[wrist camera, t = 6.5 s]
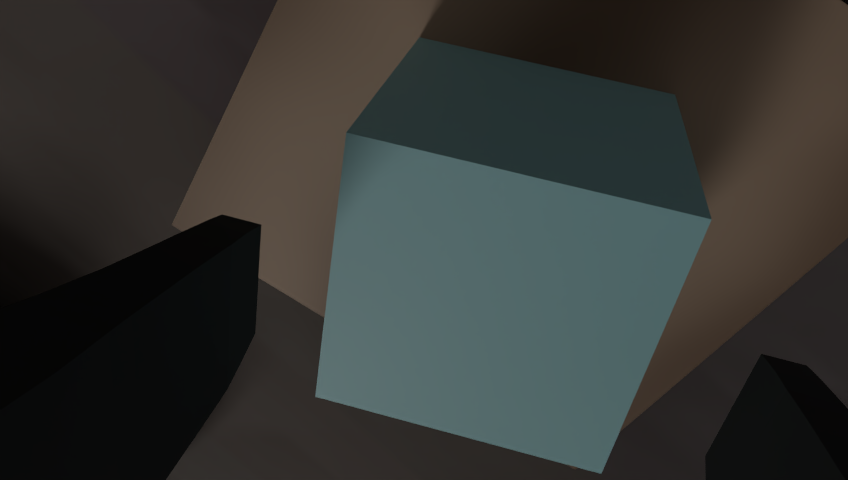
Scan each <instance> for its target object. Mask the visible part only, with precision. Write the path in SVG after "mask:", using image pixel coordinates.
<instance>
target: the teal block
mask: <svg viewBox="0 0 848 480" xmlns="http://www.w3.org/2000/svg"><path fill="white" fill-rule="evenodd" d="M711 220H712V219H711V215H710V212H709V208H708V205H707V202H706V198H705V195H704V191H703V188H702V184H701V181H700V178H699V174H698V171H697V167H696V164H695V161H694V157H693V154H692V150H691V147H690V144H689V140H688V137H687V133H686V130H685V126H684V123H683V120H682V116H681V113H680V109H679V106H678V103H677V99H676V96H675V95H674V94H670V93H665V92H661V91H657V90H652V89H648V88H643V87H639V86H634V85H630V84H625V83H621V82H616V81H612V80H608V79H603V78H599V77H594V76H590V75H585V74H581V73H576V72H572V71H568V70H563V69H559V68H554V67H550V66H545V65H541V64H536V63H532V62H527V61H523V60H519V59H514V58H510V57H505V56H501V55H496V54H492V53H487V52H483V51H478V50H474V49H470V48H465V47H461V46H456V45H452V44H447V43H443V42H438V41H434V40H429V39H425V38H421V37H419V38H418V40H417V41H416V42H415V44H414V45H413V46H412V48H411V49H410V50H409V51H408V53H407V54H406V55H405V57H404V58H403V59H402V61H401V62H400V63H399V64H398V66H397V67H396V68H395V70H394V71H393V72H392V74H391V75H390V76H389V77H388V79H387V80H386V81H385V83H384V84H383V85H382V87H381V88H380V89H379V90H378V92H377V93H376V94H375V96H374V97H373V98H372V100H371V101H370V102H369V103H368V105H367V106H366V107H365V109H364V110H363V111H362V113H361V114H360V115H359V116H358V118H357V119H356V120H355V122H354V123H353V124H352V126H351V127H350V128H349V129H348V131H347V132H346V138H345V147H344V155H343V164H342V173H341V181H340V190H339V198H338V207H337V215H336V224H335V233H334V241H333V250H332V258H331V267H330V276H329V284H328V293H327V301H326V310H325V318H324V327H323V336H322V344H321V353H320V361H319V370H318V379H317V387H316V396H315V397H319V398H322V399H326V400H330V401H334V402H337V403H341V404H345V405H348V406H352V407H356V408H360V409H363V410H367V411H371V412H374V413H378V414H382V415H385V416H389V417H393V418H397V419H400V420H404V421H408V422H411V423H415V424H419V425H423V426H426V427H430V428H434V429H437V430H441V431H445V432H448V433H452V434H456V435H460V436H463V437H467V438H471V439H474V440H478V441H482V442H486V443H489V444H493V445H497V446H500V447H504V448H508V449H511V450H515V451H519V452H523V453H526V454H530V455H534V456H537V457H541V458H545V459H549V460H552V461H556V462H560V463H563V464H567V465H571V466H574V467H578V468H582V469H586V470H589V471H593V472H597V473H600V474H601V473H602V471H603V468H604V466H605V464H606V462H607V459H608V457H609V455H610V452H611V450H612V448H613V445H614V443H615V441H616V439H617V436H618V434H619V432H620V429H621V427H622V425H623V422H624V420H625V418H626V416H627V413H628V411H629V409H630V406H631V404H632V402H633V399H634V397H635V395H636V393H637V390H638V388H639V386H640V383H641V381H642V379H643V376H644V374H645V372H646V370H647V367H648V365H649V363H650V360H651V358H652V356H653V353H654V351H655V349H656V346H657V344H658V342H659V340H660V337H661V335H662V333H663V330H664V328H665V326H666V323H667V321H668V319H669V317H670V314H671V312H672V310H673V307H674V305H675V303H676V300H677V298H678V296H679V294H680V291H681V289H682V287H683V284H684V282H685V280H686V277H687V275H688V273H689V271H690V268H691V266H692V264H693V261H694V259H695V257H696V254H697V252H698V250H699V248H700V245H701V243H702V241H703V238H704V236H705V234H706V231H707V229H708V227H709V225H710V222H711Z"/></svg>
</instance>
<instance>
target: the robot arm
mask: <svg viewBox="0 0 848 480" xmlns="http://www.w3.org/2000/svg"><path fill="white" fill-rule="evenodd" d="M260 241H261V224H257V223H253V222H250V221H246V220H242V219H238V218H234V217H230V216H226V215H223V214H222V215H219V216H217V217H214V218H212V219H209V220H207V221H205V222H202V223H200V224H198V225H196V226H194V227H191V228H189V229H187V230H185V231H183V232H181V233H179V234H176V235H174V236H172V237H170V238H168V239H166V240H164V241H162V242H160V243H157V244H155V245H153V246H151V247H149V248H147V249H144V250H142V251H140V252H138V253H136V254H133V255H131V256H129V257H127V258H125V259H122V260H120V261H118V262H116V263H114V264H112V265H109V266H107V267H105V268H103V269H100V270H98V271H95V272H93V273H90V274H88V275H86V276H83V277H81V278H78V279H76V280H73V281H71V282H68V283H66V284H63V285H61V286H58V287H56V288H54V289H51V290H49V291H46V292H44V293H41V294H39V295H36V296H34V297H31V298H29V299H26V300H23V301H20V302H18V303H15V304H12V305H9V306H6V307H4V308H1V309H0V480H166V478H167V477H168V476H169V474H170V473H171V471H172V470H173V468H174V467H175V465H176V464H177V462H178V461H179V460H180V458H181V457H182V455H183V454H184V452H185V451H186V449H187V448H188V446H189V445H190V444H191V442H192V441H193V439H194V438H195V436H196V435H197V433H198V432H199V430H200V429H201V427H202V426H203V424H204V423H205V422H206V420H207V419H208V417H209V416H210V414H211V413H212V411H213V410H214V408H215V407H216V405H217V404H218V402H219V401H220V399H221V398H222V396H223V395H224V393H225V392H226V390H227V388H228V386H229V385H230V383H231V381H232V379H233V377H234V375H235V373H236V371H237V369H238V367H239V365H240V363H241V361H242V359H243V357H244V355H245V353H246V351H247V349H248V347H249V345H250V343H251V341H252V339H253V337H254V335H255V326H256V309H257V292H258V275H259V258H260ZM705 458H706V480H848V409H847V408H846V407H845V405H844V404H843V403H842V402H841V401H840V400H839V399H838V398H837V397H836V395H835V394H834V393H833V392H832V391H831V390H830V389H829V388H828V387H827V386H826V385H825V384H824V382H823V381H822V380H821V379H820V378H819V377H818V376H817V375H816V374H815V373H814V372H813V371H812V370H811V369H810V368H809V367H807V366H806V365H802V364H798V363H794V362H790V361H786V360H783V359H779V358H775V357H771V356H767V355H763V354H761V356H760V358H759V359H758V361H757V363H756V365H755V367H754V369H753V370H752V372H751V374H750V376H749V378H748V379H747V381H746V383H745V385H744V387H743V389H742V390H741V392H740V394H739V396H738V398H737V399H736V401H735V403H734V405H733V407H732V409H731V410H730V412H729V414H728V416H727V418H726V420H725V421H724V423H723V425H722V427H721V429H720V430H719V432H718V434H717V436H716V438H715V440H714V441H713V443H712V445H711V447H710V449H709V451H708V452H707V454H706V456H705Z"/></svg>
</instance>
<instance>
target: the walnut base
mask: <svg viewBox="0 0 848 480" xmlns="http://www.w3.org/2000/svg"><path fill="white" fill-rule="evenodd" d="M419 37H421V38H425V39H429V40H434V41H438V42H443V43H447V44H452V45H456V46H461V47H465V48H470V49H474V50H478V51H483V52H487V53H492V54H496V55H501V56H505V57H510V58H514V59H519V60H523V61H527V62H532V63H536V64H541V65H545V66H550V67H554V68H559V69H563V70H568V71H572V72H576V73H581V74H585V75H590V76H594V77H599V78H603V79H608V80H612V81H616V82H621V83H625V84H630V85H634V86H639V87H643V88H648V89H652V90H657V91H661V92H665V93H670V94H674V95H675V96H676V99H677V103H678V106H679V109H680V113H681V116H682V120H683V123H684V126H685V130H686V133H687V137H688V140H689V144H690V147H691V150H692V154H693V157H694V161H695V164H696V167H697V171H698V174H699V178H700V181H701V184H702V188H703V191H704V195H705V198H706V202H707V205H708V208H709V212H710V215H711V219H712V220H711V222H710V225H709V227H708V229H707V231H706V234H705V236H704V238H703V241H702V243H701V245H700V248H699V250H698V252H697V254H696V257H695V259H694V261H693V264H692V266H691V268H690V271H689V273H688V275H687V277H686V280H685V282H684V284H683V287H682V289H681V291H680V294H679V296H678V298H677V300H676V303H675V305H674V307H673V310H672V312H671V314H670V317H669V319H668V321H667V323H666V326H665V328H664V330H663V333H662V335H661V337H660V340H659V342H658V344H657V346H656V349H655V351H654V353H653V356H652V358H651V360H650V363H649V365H648V367H647V370H646V372H645V374H644V376H643V379H642V381H641V383H640V386H639V388H638V390H637V393H636V395H635V397H634V399H633V402H632V404H631V406H630V409H629V411H628V413H627V416H626V418H625V420H624V422H623V425H622V427H621V429H620V431H621V430H622V429H624V428H625V427H626V426H627V425H628V424H630V423H631V422H632V421H633V420H634V419H635V418H637V417H638V416H639V415H640V414H641V413H642V412H644V411H645V410H646V409H647V408H648V407H650V406H651V405H652V404H653V403H654V402H655V401H657V400H658V399H659V398H660V397H661V396H662V395H664V394H665V393H666V392H667V391H668V390H669V389H671V388H672V387H673V386H674V385H675V384H677V383H678V382H679V381H680V380H681V379H682V378H684V377H685V376H686V375H687V374H688V373H689V372H691V371H692V370H693V369H694V368H695V367H696V366H698V365H699V364H700V363H701V362H702V361H704V360H705V359H706V358H707V357H708V356H709V355H711V354H712V353H713V352H714V351H715V350H716V349H718V348H719V347H720V346H721V345H722V344H724V343H725V342H726V341H727V340H728V339H729V338H731V337H732V336H733V335H734V334H735V333H736V332H738V331H739V330H740V329H741V328H742V327H743V326H745V325H746V324H747V323H748V322H749V321H751V320H752V319H753V318H754V317H755V316H756V315H758V314H759V313H760V312H761V311H762V310H763V309H765V308H766V307H767V306H768V305H769V304H771V303H772V302H773V301H774V300H775V299H776V298H778V297H779V296H780V295H781V294H782V293H783V292H785V291H786V290H787V289H788V288H789V287H790V286H792V285H793V284H794V283H795V282H796V281H798V280H799V279H800V278H801V277H802V276H803V275H805V274H806V273H807V272H808V271H809V270H810V269H812V268H813V267H814V266H815V265H816V264H818V263H819V262H820V261H821V260H822V259H823V258H825V257H826V256H827V255H828V254H829V253H830V252H832V251H833V250H834V249H835V248H836V247H837V246H839V245H840V244H841V243H842V242H843V241H845V240H846V239H847V238H848V5H847V4H846V3H845V2H843V1H842V0H278V1H277V3H276V5H275V7H274V9H273V11H272V13H271V15H270V18H269V20H268V22H267V24H266V26H265V28H264V30H263V32H262V35H261V37H260V39H259V41H258V43H257V45H256V47H255V49H254V51H253V54H252V56H251V58H250V60H249V62H248V64H247V66H246V68H245V71H244V73H243V75H242V77H241V79H240V81H239V83H238V85H237V88H236V90H235V92H234V94H233V96H232V98H231V100H230V102H229V105H228V107H227V109H226V111H225V113H224V115H223V117H222V119H221V122H220V124H219V126H218V128H217V130H216V132H215V134H214V136H213V138H212V141H211V143H210V145H209V147H208V149H207V151H206V153H205V155H204V158H203V160H202V162H201V164H200V166H199V168H198V170H197V172H196V175H195V177H194V179H193V181H192V183H191V185H190V187H189V189H188V192H187V194H186V196H185V198H184V200H183V202H182V204H181V206H180V209H179V211H178V213H177V215H176V217H175V219H174V221H173V223H172V225H173V226H174V227H176V228H178V229H179V230H181V231H182V232H183V231H185V230H187V229H189V228H191V227H194V226H196V225H198V224H200V223H202V222H205V221H207V220H209V219H212V218H214V217H217V216H219V215H222V214H223V215H226V216H230V217H234V218H238V219H242V220H246V221H250V222H253V223H257V224H261V241H260V258H259V275H258V278H260V279H262V280H263V281H265V282H267V283H268V284H270V285H271V286H273V287H275V288H276V289H278V290H280V291H281V292H283V293H285V294H286V295H288V296H290V297H291V298H293V299H295V300H296V301H298V302H299V303H301V304H303V305H304V306H306V307H308V308H309V309H311V310H313V311H314V312H316V313H318V314H319V315H321V316H323V317H324V318H325V310H326V301H327V293H328V284H329V276H330V267H331V258H332V250H333V241H334V233H335V224H336V215H337V207H338V198H339V190H340V181H341V173H342V164H343V155H344V147H345V138H346V132H347V131H348V129H349V128H350V127H351V126H352V124H353V123H354V122H355V120H356V119H357V118H358V116H359V115H360V114H361V113H362V111H363V110H364V109H365V107H366V106H367V105H368V103H369V102H370V101H371V100H372V98H373V97H374V96H375V94H376V93H377V92H378V90H379V89H380V88H381V87H382V85H383V84H384V83H385V81H386V80H387V79H388V77H389V76H390V75H391V74H392V72H393V71H394V70H395V68H396V67H397V66H398V64H399V63H400V62H401V61H402V59H403V58H404V57H405V55H406V54H407V53H408V51H409V50H410V49H411V48H412V46H413V45H414V44H415V42H416V41H417V40H418V38H419ZM566 465H567V464H566ZM568 466H570V467H571V468H573V469H577V468H578V467H574V466H571V465H568Z"/></svg>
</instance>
